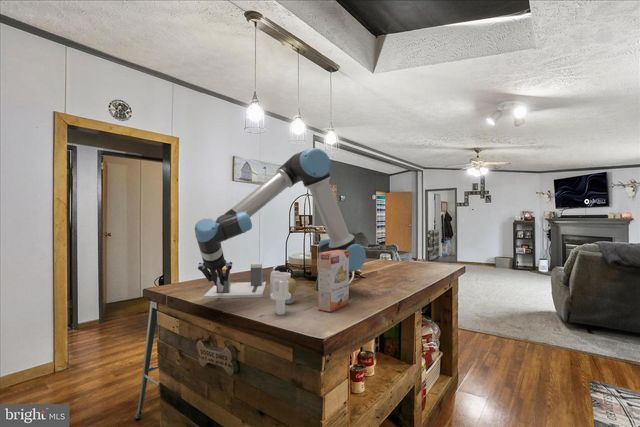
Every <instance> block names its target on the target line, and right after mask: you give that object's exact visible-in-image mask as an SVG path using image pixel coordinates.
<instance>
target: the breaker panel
mask: <svg viewBox="0 0 640 427" xmlns="http://www.w3.org/2000/svg"><path fill="white" fill-rule="evenodd" d="M266 285H267V281H262V285H259V286H251V281H249V282H247V281H246V282H230V291H229V292H228V293H217V286H215V284H214V285H213V286H212V287H211V288H210V289H209V290H208V291H207V292H206V293H205V294H203V296H202V297H203V298H202V299H203V300H214V299H217V298H221V299H246V298H249V299H251V298H253V299H254V298H263V295H264V293H265V289H266ZM217 300H218V299H217Z"/></svg>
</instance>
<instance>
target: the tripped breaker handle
mask: <svg viewBox="0 0 640 427" xmlns="http://www.w3.org/2000/svg"><path fill="white" fill-rule="evenodd" d="M222 271H223V275H224V276H225V273H226V267H223V268H222ZM216 273H217V270H216ZM217 275H218V273H217ZM217 277H219V275H218V276H217ZM230 283H231V270H230V271H229V276H228V280H227V281H225V284H224V286H223V292H219V290H218V286H217V293H228V292H229V291H230Z"/></svg>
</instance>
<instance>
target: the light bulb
mask: <svg viewBox="0 0 640 427" xmlns="http://www.w3.org/2000/svg"><path fill="white" fill-rule="evenodd" d="M287 281H288V290H289V293H290V294H291V298H290V299H287V300H285V305H291V304H293V303H294V295H293V294H294V293H295V291H296V290H297V281H296V280H295V279H294V278H292V277H290V278H287Z"/></svg>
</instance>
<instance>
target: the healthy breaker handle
mask: <svg viewBox="0 0 640 427" xmlns="http://www.w3.org/2000/svg"><path fill="white" fill-rule="evenodd" d="M250 282H251V286H259V285H262V282H263V263H262V262H251V263H250Z"/></svg>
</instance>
